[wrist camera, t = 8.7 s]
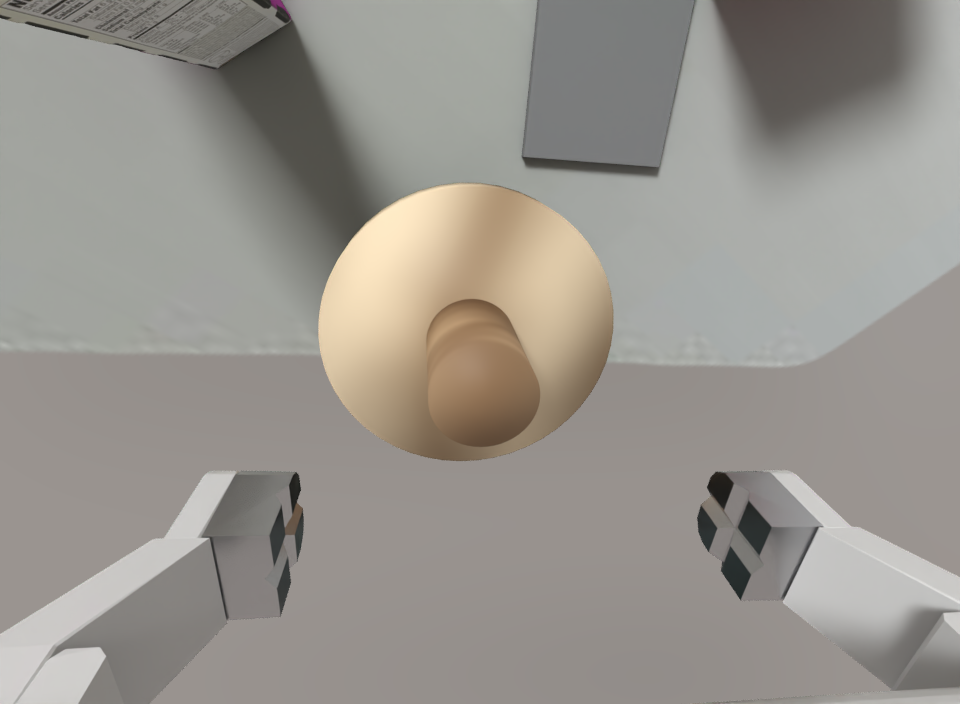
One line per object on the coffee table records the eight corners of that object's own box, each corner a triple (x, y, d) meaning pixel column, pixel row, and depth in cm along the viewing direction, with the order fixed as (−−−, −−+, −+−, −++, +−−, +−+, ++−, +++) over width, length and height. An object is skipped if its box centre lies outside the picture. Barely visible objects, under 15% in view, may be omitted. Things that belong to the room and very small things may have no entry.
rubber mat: (693, -20, 25) (699, -24, 25) (654, 166, 29) (659, 167, 28) (541, -41, 24) (544, -44, 23) (521, 156, 28) (523, 156, 27)
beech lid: (626, 194, 16) (711, 221, 12) (577, 443, 20) (624, 537, 16) (317, 169, 15) (271, 189, 10) (330, 442, 19) (301, 545, 14)
